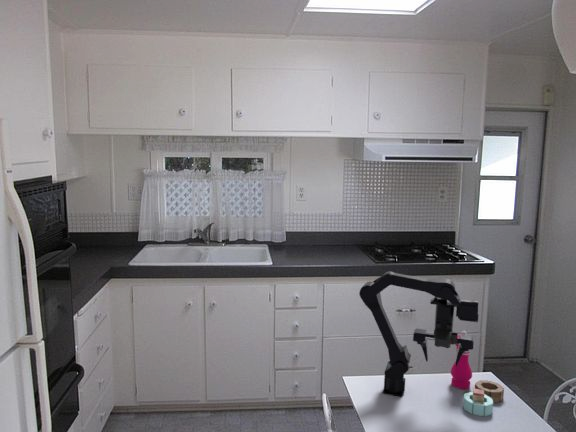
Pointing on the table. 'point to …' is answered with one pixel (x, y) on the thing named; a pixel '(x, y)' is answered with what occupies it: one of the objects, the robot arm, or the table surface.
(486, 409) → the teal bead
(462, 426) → the table surface
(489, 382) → the brown segmented ring
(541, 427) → the table surface
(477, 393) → the pink two-tone square block
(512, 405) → the table surface
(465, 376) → the pepper mill
